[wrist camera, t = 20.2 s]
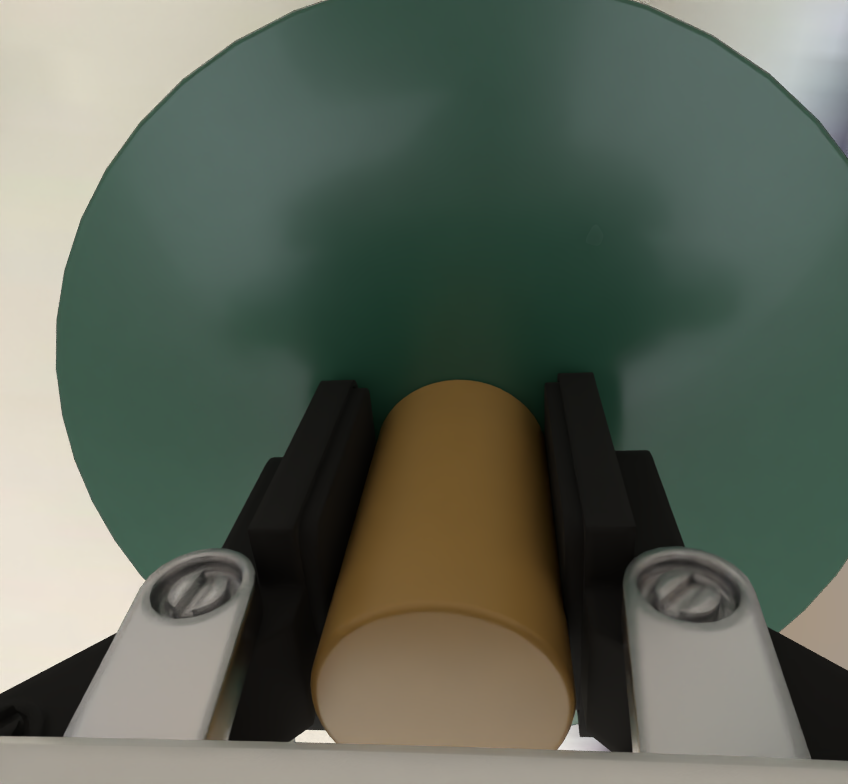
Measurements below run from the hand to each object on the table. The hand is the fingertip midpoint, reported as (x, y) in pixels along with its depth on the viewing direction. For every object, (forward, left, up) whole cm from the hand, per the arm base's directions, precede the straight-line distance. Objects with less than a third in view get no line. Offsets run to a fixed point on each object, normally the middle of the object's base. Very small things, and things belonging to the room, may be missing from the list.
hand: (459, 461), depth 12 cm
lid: (0, 0, -1) cm, 1 cm away
